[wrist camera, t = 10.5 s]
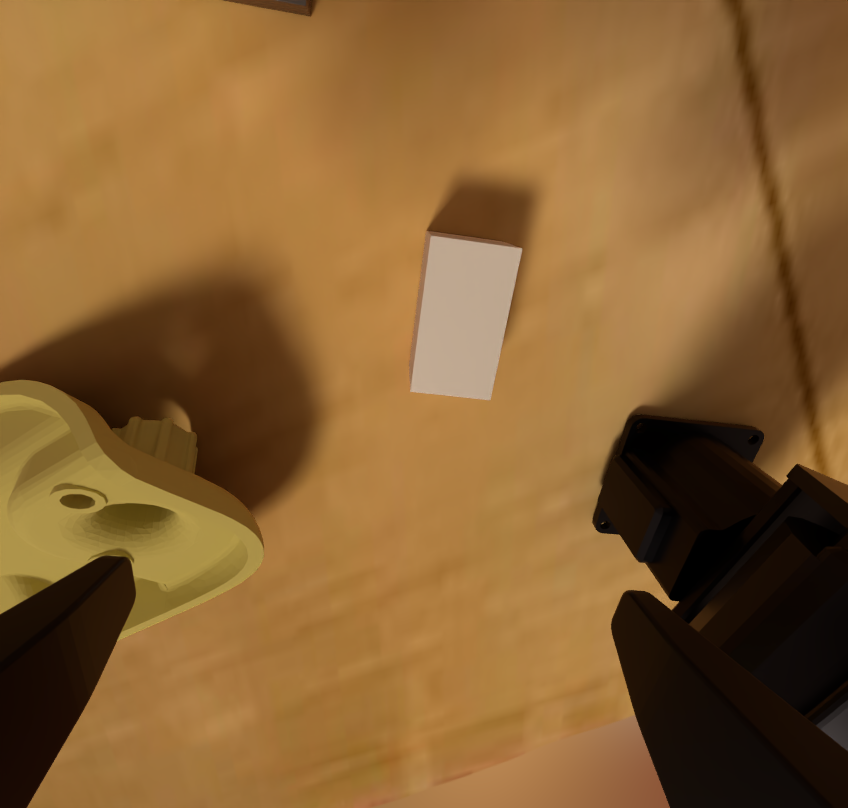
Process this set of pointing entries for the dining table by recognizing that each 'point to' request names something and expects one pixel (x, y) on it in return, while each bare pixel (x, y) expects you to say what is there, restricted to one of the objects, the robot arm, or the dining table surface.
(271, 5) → the chassis
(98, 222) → the dining table surface
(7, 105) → the dining table surface
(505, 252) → the white rectangular block
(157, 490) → the plastic component
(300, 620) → the dining table surface
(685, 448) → the robot arm
